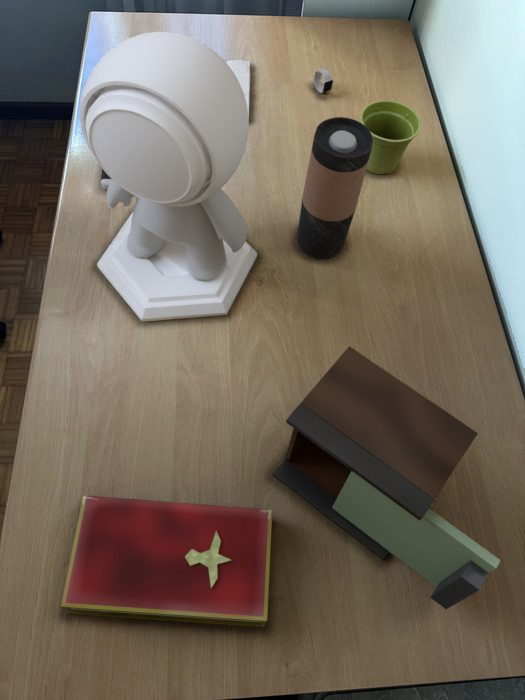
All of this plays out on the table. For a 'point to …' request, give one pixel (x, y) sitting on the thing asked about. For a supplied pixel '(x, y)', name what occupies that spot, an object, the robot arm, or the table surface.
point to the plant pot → (389, 133)
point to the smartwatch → (327, 80)
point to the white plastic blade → (242, 76)
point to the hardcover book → (170, 562)
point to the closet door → (418, 541)
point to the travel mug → (333, 185)
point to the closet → (370, 442)
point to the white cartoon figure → (170, 173)
